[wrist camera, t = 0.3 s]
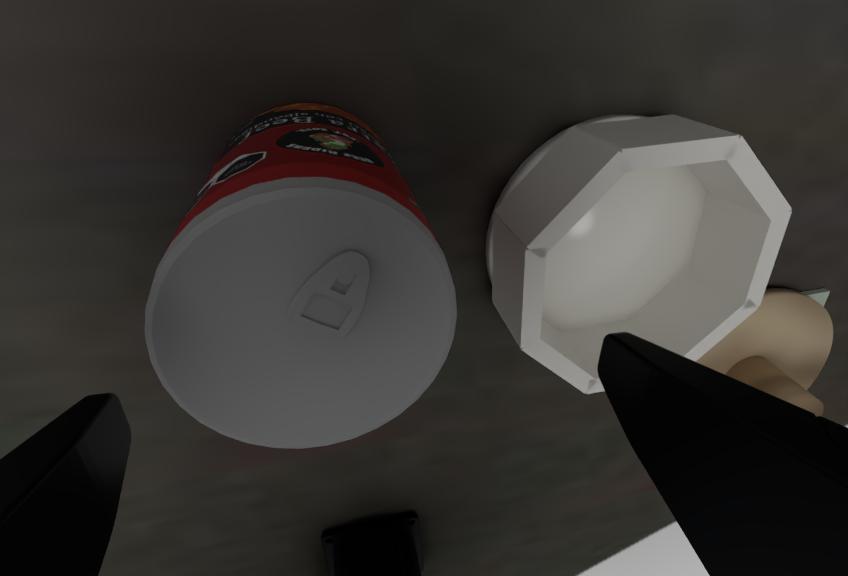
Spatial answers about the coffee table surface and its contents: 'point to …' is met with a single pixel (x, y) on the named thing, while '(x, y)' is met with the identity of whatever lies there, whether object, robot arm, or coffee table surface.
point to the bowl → (632, 240)
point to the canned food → (301, 287)
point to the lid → (778, 348)
